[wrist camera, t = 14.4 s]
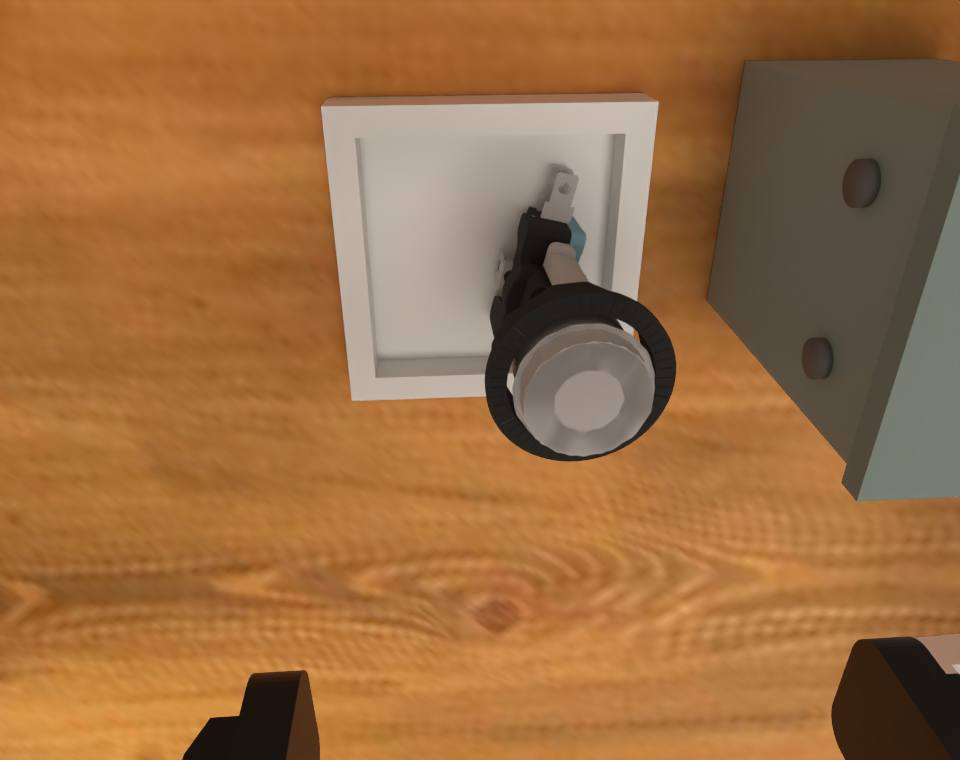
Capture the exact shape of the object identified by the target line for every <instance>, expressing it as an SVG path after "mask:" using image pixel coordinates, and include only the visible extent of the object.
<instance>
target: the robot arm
mask: <svg viewBox="0 0 960 760" xmlns="http://www.w3.org/2000/svg"><path fill="white" fill-rule="evenodd" d="M831 717H832V726H833V731H834V735H835V738H836V741H837V744H838V746H839V748H840V750H841V753H842V754H843V756H844V758H845V760H960V674H959V673H956V674H946V673H945V672H944V670H943V669H942V668H941V666H940V665H939V664H938V662H937V661H936V660H935V658H934V657H933V656H932V654H931V653H930V652H929V650H928V649H927V648H926V647H925V645H924V644H922V643H921V642H920V641H919V640H917V639H916V638H913V637H894V638H877V639H861V640H858V641H857V642H856V643H855V644H854V646H853V648H852V650H851V653H850V656H849V659H848V662H847V665H846V667H845V670H844V673H843V676H842V679H841V682H840V684H839V687H838V690H837V693H836V696H835V699H834V701H833V705H832V713H831ZM183 760H320V744H319V734H318V728H317V723H316V717H315V711H314V706H313V700H312V695H311V689H310V683H309V678H308V674H307V672H306V671H305V670H302V671H285V672H268V673H254V674H252V675H251V677H250V678H249V681H248V683H247V687H246V691H245V695H244V699H243V703H242V707H241V711H240V715H239V716H232V717H216V718H210V719H209V721H208V722H207V724H206V725H205V726H204V728H203V729H202V730H201V732H200V733H199V735H198V736H197V737H196V739H195V740H194V741H193V743H192V744H191V746H190V747H189V748H188V750H187V751H186V753H185V754H184V756H183Z"/></svg>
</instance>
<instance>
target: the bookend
mask: <svg viewBox="0 0 960 760" xmlns="http://www.w3.org/2000/svg"><path fill="white" fill-rule="evenodd" d="M916 639H917V640H919V641H920V642H921V643H922V644H924V645H925V647H926V648H927V649H928V650H929V652H930V653H931V654H932V656H933V657H934V658H935V660H936V661H937V662H938V664H939V665H940V666H941V668H942V669H943V670H944V672H945V673H946V674H956V673H959V674H960V633H959V634H948V635H938V636H927V637H916Z"/></svg>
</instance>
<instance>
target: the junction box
mask: <svg viewBox="0 0 960 760" xmlns="http://www.w3.org/2000/svg"><path fill="white" fill-rule="evenodd" d="M707 301H708V302H709V304H710V305H711V306H712V307H713V308H714V309H715V311H716V312H717V313H718V314H719V315H720V316H721V317H722V319H723V320H724V321H725V322H726V323H727V324H728V326H729V327H730V328H731V329H732V330H733V331H734V333H735V334H736V335H737V336H738V337H739V338H740V340H741V341H742V342H743V343H744V344H745V345H746V347H747V348H748V349H749V350H750V351H751V352H752V354H753V355H754V356H755V357H756V358H757V359H758V361H759V362H760V363H761V364H762V365H763V366H764V368H765V369H766V370H767V371H768V372H769V373H770V375H771V376H772V377H773V378H774V379H775V380H776V382H777V383H778V384H779V385H780V386H781V387H782V389H783V390H784V391H785V392H786V393H787V394H788V396H789V397H790V398H791V399H792V400H793V401H794V403H795V404H796V405H797V406H798V407H799V408H800V410H801V411H802V412H803V413H804V414H805V415H806V417H807V418H808V419H809V420H810V421H811V422H812V424H813V425H814V426H815V427H816V428H817V429H818V431H819V432H820V433H821V434H822V435H823V436H824V438H825V439H826V440H827V441H828V442H829V443H830V445H831V446H832V447H833V448H834V449H835V450H836V452H837V453H838V454H839V455H840V456H841V457H842V459H843V460H844V461H845V462H846V463H847V465H846V469H845V472H844V475H843V479H842V482H841V483H842V484H843V485H844V486H845V488H846V489H847V490H848V491H849V493H850V494H851V495H852V496H853V497H854V499H855V500H856V501H877V500H899V499H922V498H944V497H960V62H956V61H950V60H943V59H877V60H790V61H745V65H744V71H743V77H742V84H741V90H740V96H739V102H738V109H737V115H736V121H735V127H734V134H733V140H732V146H731V152H730V159H729V165H728V171H727V177H726V183H725V190H724V196H723V202H722V208H721V215H720V221H719V227H718V233H717V240H716V246H715V252H714V258H713V265H712V271H711V277H710V283H709V290H708V296H707Z"/></svg>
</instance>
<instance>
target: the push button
mask: <svg viewBox="0 0 960 760" xmlns="http://www.w3.org/2000/svg"><path fill="white" fill-rule="evenodd" d="M573 174H574V172H573V170H572V169H568V168H564V167H560V166H554V167H552V171H551V174H550V178H549V182H548V185H547V189H546V192H545V195H543V194H541V195H540V199H539V202H538V206H537V208H533V207H529V208H528V210H527V213H523V214H522V216H521V218H520V222H519V226H518V233H517V250H516V254H515V257H514V261H513V262H511V261H507V260H506V257H505V254H504V251H503V249H500V251H499V255H498V259H497V263H496V266H495V271H494V277H495V281H496V284H497V285H498V286H497V288H498V289H502V297H499V296H495V297H494V299H493V303H492V307H491V310H490V323H491V327H492V331H493V336H494V339H493V341H492V344H491V352H490V354H489V358H488V361H487V365H486V370H485V392H486V398H487V403H488V407H489V410H490V413H491V415H492V417H493V419H494V421H495V423H496V424H497V426H498V428H499V429H500V430H501V431H502V433H503V434H504V435H505V436H506V437H507V438H508V439H509V440H510V441H511V442H513V443H514V444H515V445H517V446H518V447H520V448H521V449H523V450H525V451H527V452H529V453H531V454H533V455H536V456H539V457H542V458H546V459H551V460H557V461H582V460H589V459H594V458H598V457H602V456H605V455H608V454H610V453H613V452H615V451H618V450H620V449H622V448H624V447H625V446H627V445H629V444H630V443H632V442H633V441H635V440H636V439H638V438H639V437H640V436H641V435H643V434H644V433H645V432H646V431H647V430H648V429H649V428H650V427H651V426H652V425H653V424H654V423H655V421H656V420H657V419H658V418H659V416H660V415H661V413H662V412H663V410H664V409H665V407H666V405H667V403H668V401H669V399H670V396H671V394H672V390H673V387H674V383H675V376H676V360H675V353H674V349H673V346H672V343H671V340H670V338H669V336H668V334H667V332H666V331H665V329H664V328H663V326H662V325H661V323H660V322H659V321H658V319H657V318H656V317H655V316H654V315H653V314H652V313H651V312H650V311H649V310H648V309H647V308H646V307H645V306H643V305H642V304H640V303H639V302H637V301H635V300H634V299H632V298H630V297H628V296H625V295H622V294H620V293H616V292H612V291H608V290H606V289H604V288H602V287H599V286H597V285H595V284H592V283H590V282H589V281H588V279H587V278H586V275H584V273H583V271H582V269H581V268H580V266H579V264H578V263H579V259H580V256H581V255H582V253H583V250H584V247H585V243H586V233H585V232H584V231H583V230H582V229H581V227H580V226H579V224H578V223H577V221H576V220H575V218H574V217H573V216H572V215H573V212H574V209H575V208H574V207H571V204H572V201H573V198H574V194H575V191H576V188H577V184H578V181H579V178H578V176H577V175H573ZM554 181H555V182H554ZM562 183H565V184H564V185H563V186H562V187H559V186H560V185H561V184H562ZM569 187H570V190H569ZM568 191H569V192H568ZM499 265H500V267H499ZM617 319H618V320H620V321H623V322H625V323H626V324H628V325H630V326H631V327H633V328H634V329H635V330H636V331H637V332H638V334H639V338H640V343H639V342H638V341H637V340H636V339H635V338H634V336H633V335H631V334H629V333H628V332H626V331H624V329H623V328H622V326H621V325H620V323H619V322H618V320H617ZM511 364H512V372H513V376H514V382H513V388H512V393H513V395H512V393H511V392H510V390H509V389H508V387H507V379H508V373H509V370H510V366H511Z"/></svg>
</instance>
